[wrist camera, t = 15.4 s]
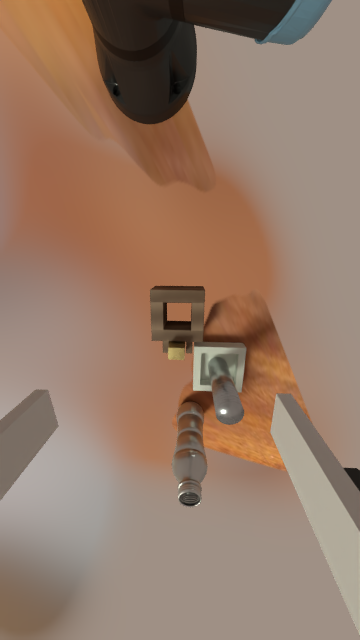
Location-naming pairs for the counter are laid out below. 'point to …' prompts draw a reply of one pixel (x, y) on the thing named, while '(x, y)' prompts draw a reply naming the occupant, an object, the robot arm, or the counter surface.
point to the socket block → (177, 329)
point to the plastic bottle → (189, 454)
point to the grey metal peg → (224, 392)
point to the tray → (227, 351)
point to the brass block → (176, 350)
